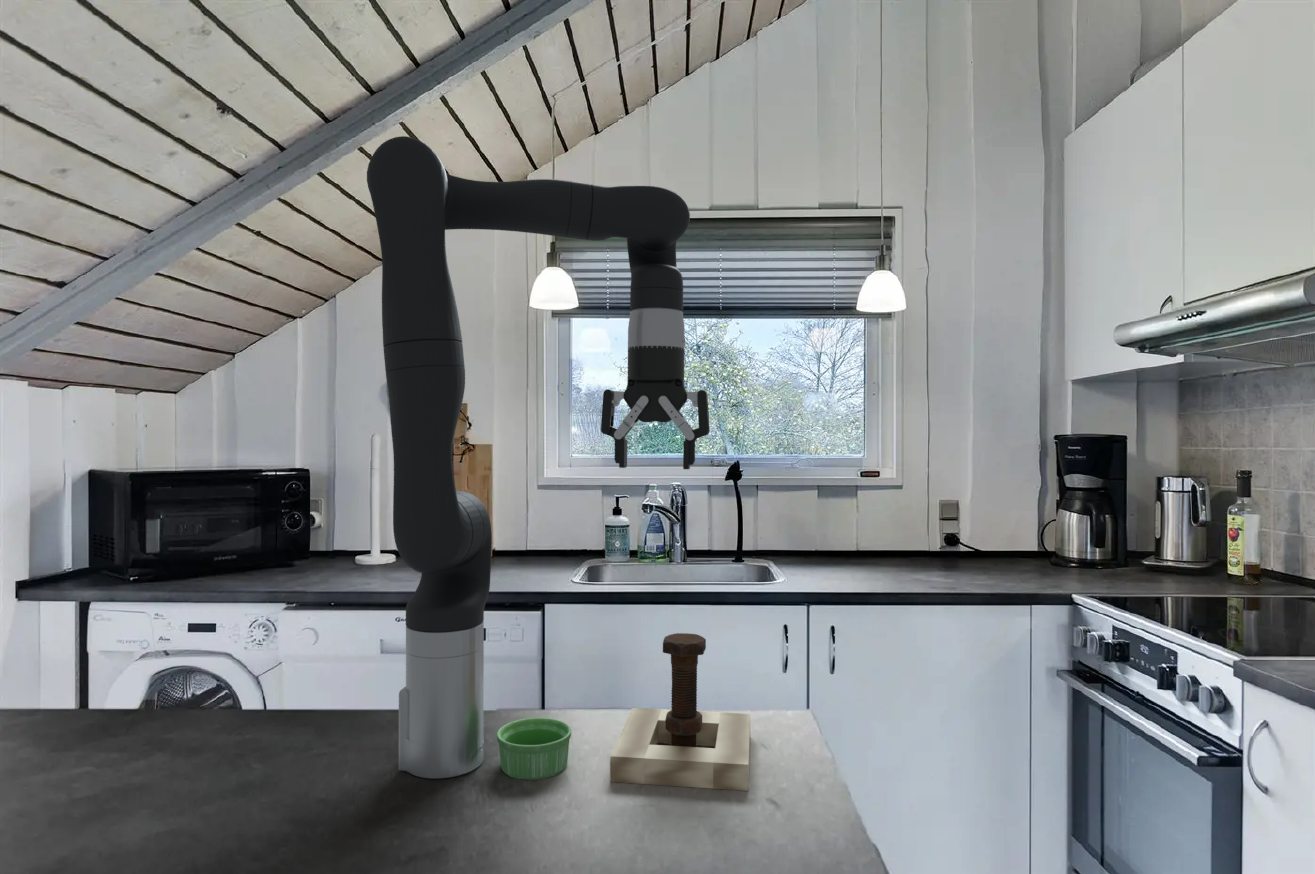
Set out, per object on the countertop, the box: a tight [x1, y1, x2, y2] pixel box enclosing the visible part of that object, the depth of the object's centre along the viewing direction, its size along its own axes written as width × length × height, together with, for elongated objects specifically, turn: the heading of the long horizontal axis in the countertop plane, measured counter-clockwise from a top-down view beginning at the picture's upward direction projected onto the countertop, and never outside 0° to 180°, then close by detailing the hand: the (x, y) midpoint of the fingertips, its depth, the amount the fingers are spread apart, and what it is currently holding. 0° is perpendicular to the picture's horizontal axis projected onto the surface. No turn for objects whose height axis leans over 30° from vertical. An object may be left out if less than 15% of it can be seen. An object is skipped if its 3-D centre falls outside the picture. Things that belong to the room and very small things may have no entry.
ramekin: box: [496, 717, 572, 781], centre depth 97 cm, size 9×9×4 cm
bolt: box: [662, 632, 707, 747], centre depth 99 cm, size 6×5×15 cm
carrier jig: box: [609, 707, 751, 792], centre depth 99 cm, size 16×16×3 cm
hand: (654, 468), depth 105 cm, fingers open, 8 cm apart
